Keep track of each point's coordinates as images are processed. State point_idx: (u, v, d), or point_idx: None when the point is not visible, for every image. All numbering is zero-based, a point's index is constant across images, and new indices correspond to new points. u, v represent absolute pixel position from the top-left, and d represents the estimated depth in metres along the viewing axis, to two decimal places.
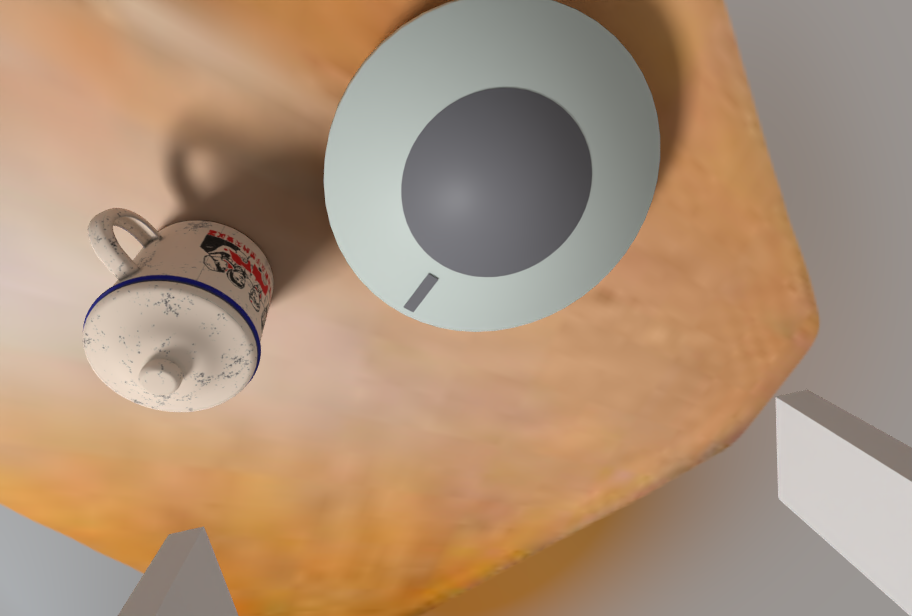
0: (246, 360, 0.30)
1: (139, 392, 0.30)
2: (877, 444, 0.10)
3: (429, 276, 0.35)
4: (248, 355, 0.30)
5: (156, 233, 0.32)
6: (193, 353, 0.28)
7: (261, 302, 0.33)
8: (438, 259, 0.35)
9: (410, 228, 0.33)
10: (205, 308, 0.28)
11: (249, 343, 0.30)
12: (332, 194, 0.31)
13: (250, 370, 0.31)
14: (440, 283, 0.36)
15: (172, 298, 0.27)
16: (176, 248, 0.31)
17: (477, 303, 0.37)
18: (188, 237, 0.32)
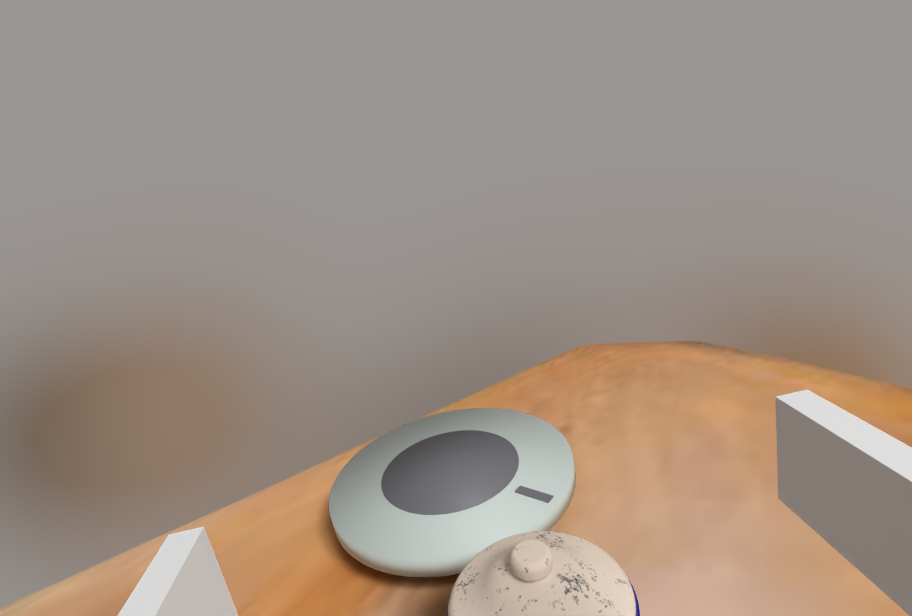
0: (544, 532, 0.29)
1: None
2: (877, 444, 0.10)
3: (517, 491, 0.41)
4: (538, 532, 0.29)
5: None
6: None
7: None
8: (501, 487, 0.42)
9: (472, 506, 0.40)
10: (478, 558, 0.28)
11: (525, 533, 0.29)
12: (435, 553, 0.36)
13: (559, 532, 0.29)
14: (524, 484, 0.42)
15: (462, 581, 0.27)
16: None
17: (544, 463, 0.44)
18: None
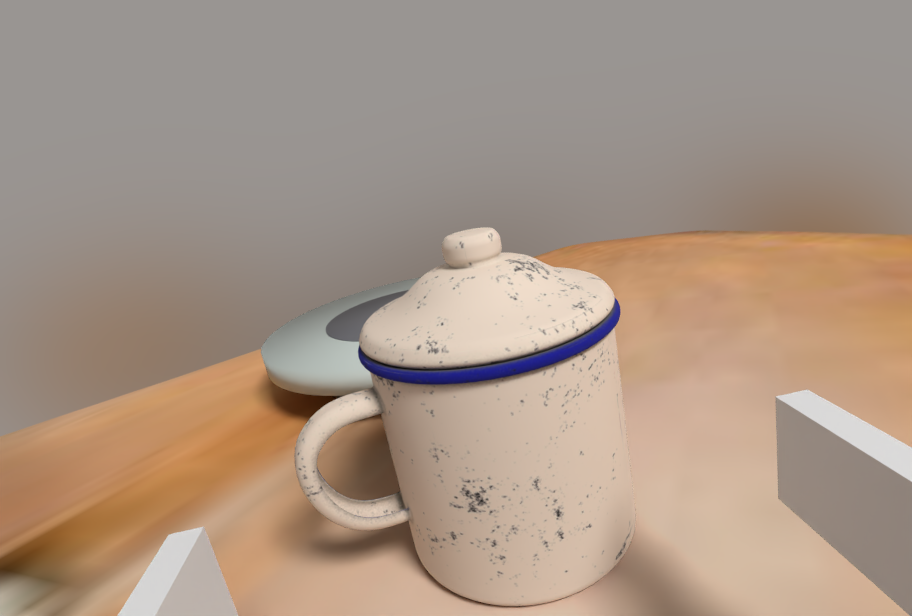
0: None
1: (541, 291, 0.16)
2: (877, 444, 0.10)
3: None
4: None
5: (388, 497, 0.19)
6: None
7: None
8: None
9: None
10: None
11: None
12: None
13: None
14: None
15: (384, 306, 0.20)
16: None
17: None
18: None
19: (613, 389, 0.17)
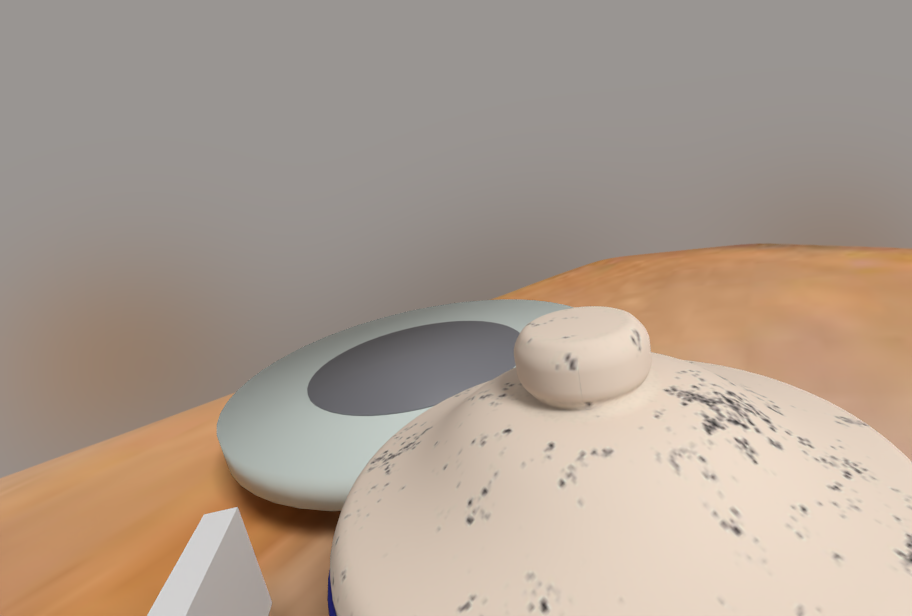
0: None
1: (790, 499, 0.06)
2: None
3: None
4: None
5: None
6: None
7: None
8: (497, 375, 0.25)
9: None
10: (434, 409, 0.11)
11: None
12: None
13: None
14: None
15: (387, 451, 0.10)
16: None
17: None
18: None
19: None
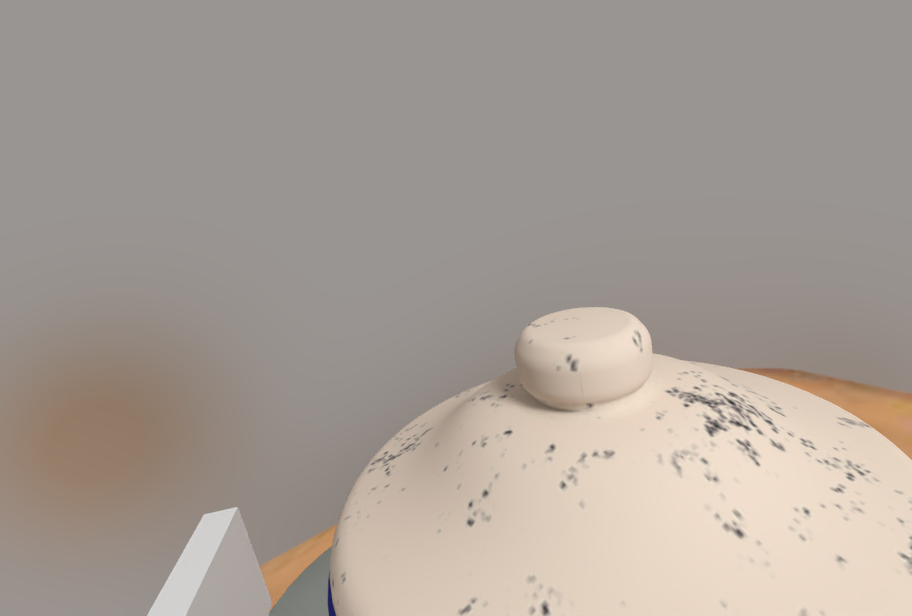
0: None
1: (793, 501, 0.06)
2: None
3: None
4: None
5: None
6: None
7: None
8: None
9: None
10: (435, 410, 0.11)
11: None
12: None
13: None
14: None
15: (387, 452, 0.10)
16: None
17: None
18: None
19: None
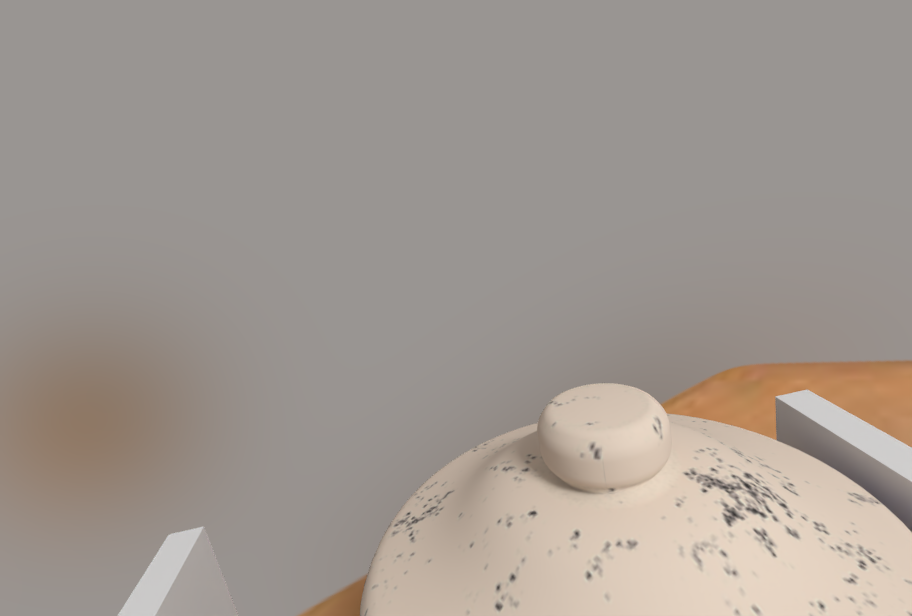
0: None
1: (809, 595, 0.07)
2: (877, 444, 0.10)
3: None
4: None
5: None
6: None
7: None
8: None
9: None
10: (453, 466, 0.11)
11: None
12: None
13: None
14: None
15: (409, 514, 0.10)
16: None
17: None
18: None
19: None
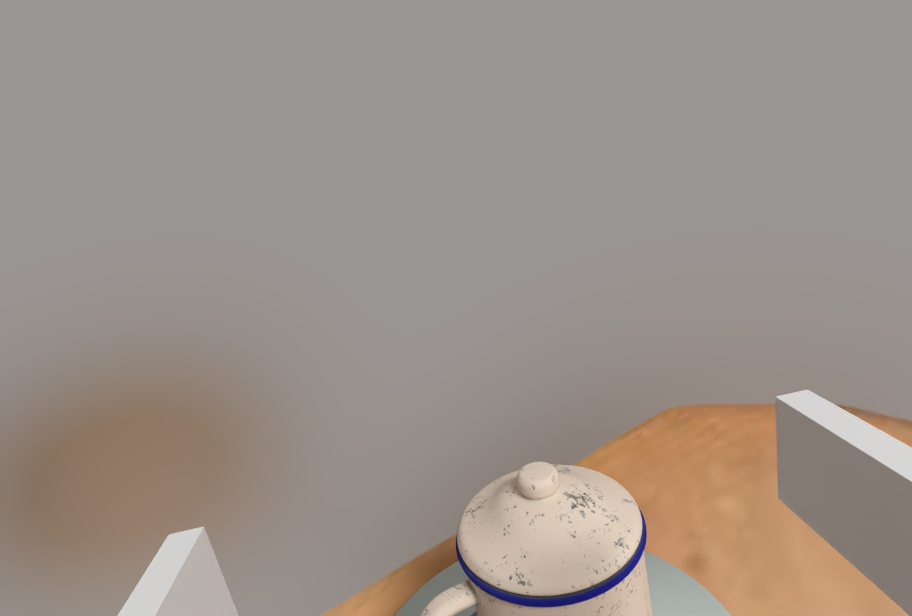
0: None
1: (591, 528, 0.23)
2: (877, 444, 0.10)
3: None
4: None
5: None
6: None
7: None
8: None
9: None
10: (486, 489, 0.28)
11: None
12: None
13: (566, 465, 0.29)
14: None
15: (471, 508, 0.27)
16: None
17: None
18: None
19: (642, 590, 0.24)
